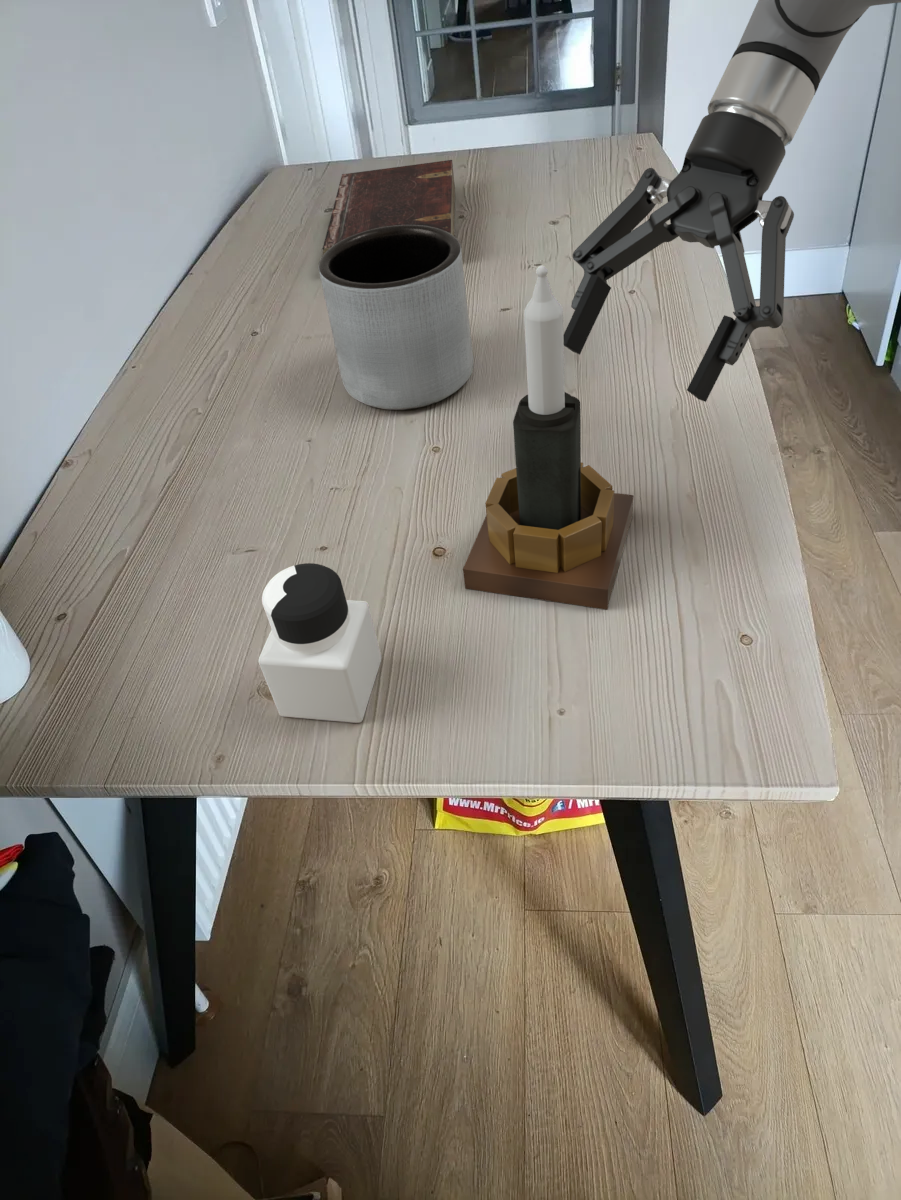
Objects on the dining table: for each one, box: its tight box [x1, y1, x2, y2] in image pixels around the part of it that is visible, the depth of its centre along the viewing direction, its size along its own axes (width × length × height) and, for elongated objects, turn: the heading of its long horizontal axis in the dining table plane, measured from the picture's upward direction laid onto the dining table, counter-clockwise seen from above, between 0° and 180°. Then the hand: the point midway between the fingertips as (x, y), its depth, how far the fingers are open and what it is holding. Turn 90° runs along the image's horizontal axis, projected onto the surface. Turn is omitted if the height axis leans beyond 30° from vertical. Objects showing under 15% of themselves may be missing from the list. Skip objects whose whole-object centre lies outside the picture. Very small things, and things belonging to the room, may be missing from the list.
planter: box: [318, 225, 474, 411], centre depth 101 cm, size 16×16×16 cm
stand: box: [462, 461, 635, 610], centre depth 80 cm, size 13×13×6 cm
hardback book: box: [321, 159, 456, 257], centre depth 136 cm, size 29×19×5 cm, turn 0°
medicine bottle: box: [257, 562, 382, 724], centre depth 69 cm, size 7×7×12 cm
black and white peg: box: [512, 264, 582, 530], centre depth 72 cm, size 5×5×25 cm
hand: (629, 371), depth 77 cm, fingers open, 13 cm apart
